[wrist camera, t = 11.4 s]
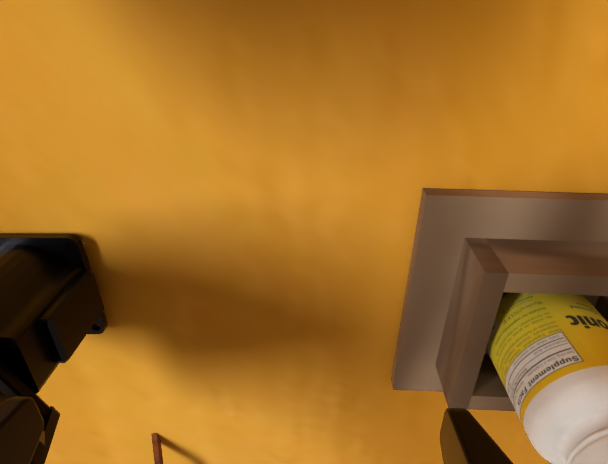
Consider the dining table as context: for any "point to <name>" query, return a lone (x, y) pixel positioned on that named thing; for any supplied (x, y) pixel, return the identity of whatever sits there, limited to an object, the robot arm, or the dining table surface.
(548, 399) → the supplement bottle
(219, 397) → the dining table surface
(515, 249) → the socket holder
